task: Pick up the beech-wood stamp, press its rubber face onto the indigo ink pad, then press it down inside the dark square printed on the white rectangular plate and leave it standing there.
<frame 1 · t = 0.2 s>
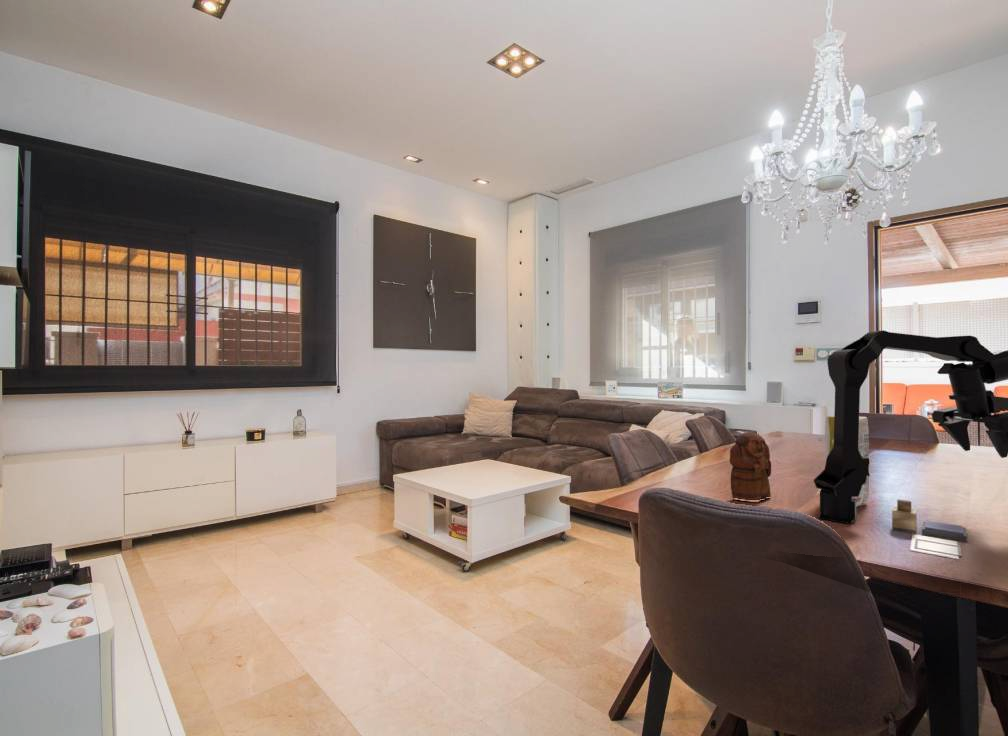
hand: (985, 453, 116), 15 cm above the table, tool pointing down, fingers open, 9 cm apart
white rectangular plate: (934, 546, 99), on the table
juice carton: (846, 504, 130), on the table
wooden figurine: (752, 499, 135), on the table
ink pad: (943, 533, 107), on the table
stamp: (904, 530, 109), on the table
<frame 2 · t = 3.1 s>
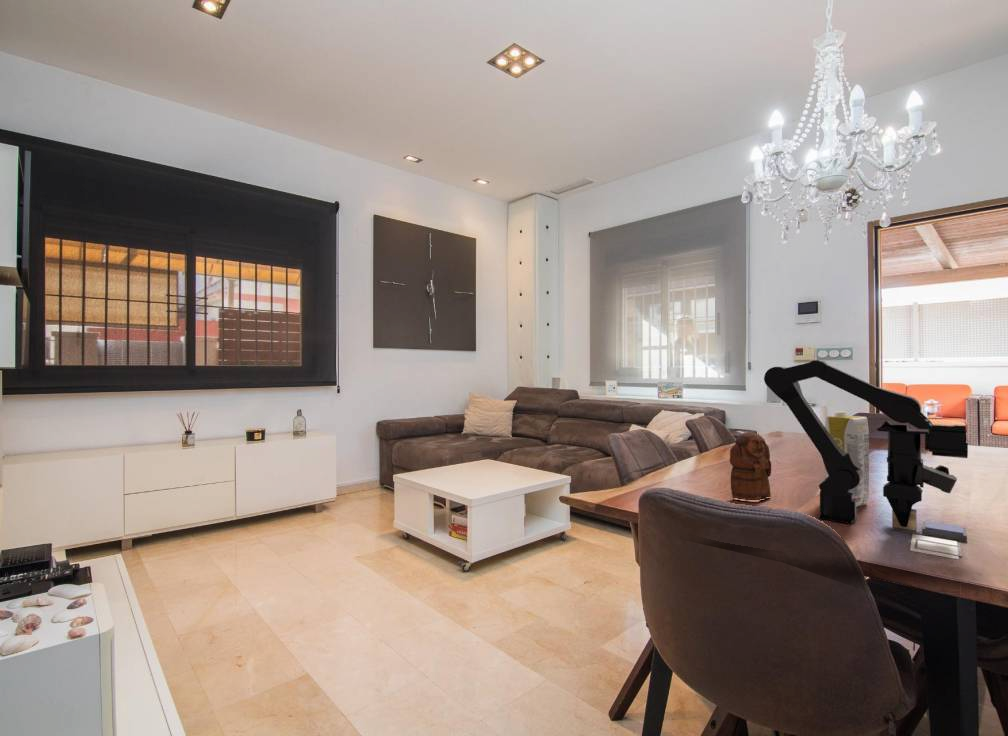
hand: (904, 524, 109), 1 cm above the table, tool pointing down, fingers closed on stamp, 4 cm apart
stamp: (904, 529, 109), on the table, touching gripper
everything else where it was.
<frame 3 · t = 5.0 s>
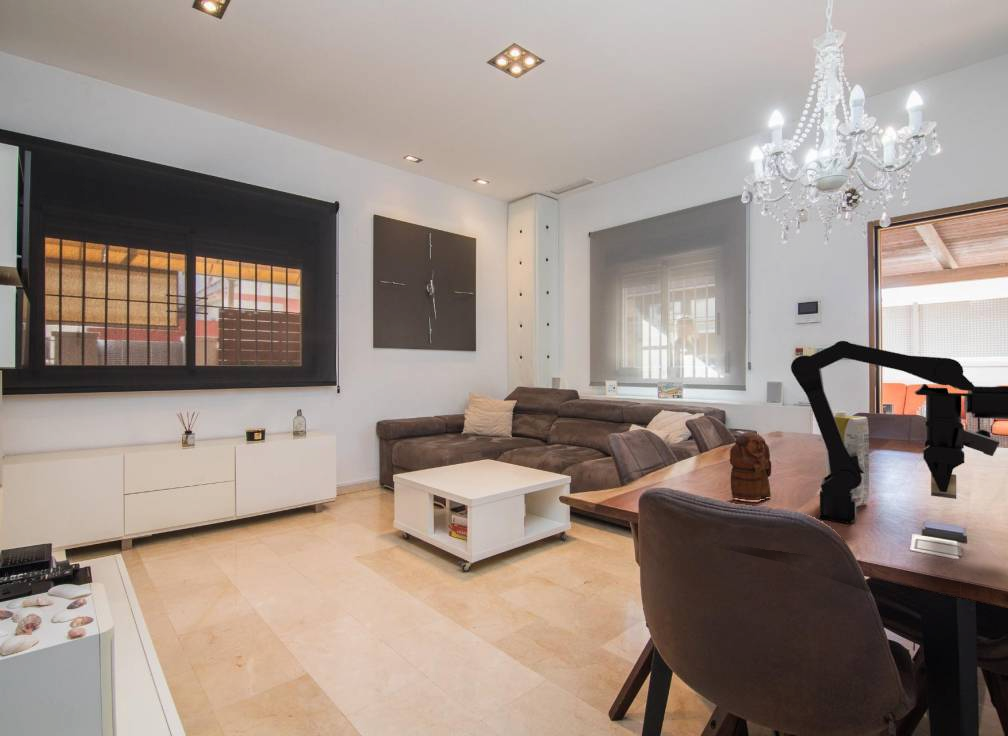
hand: (943, 489, 107), 9 cm above the table, tool pointing down, fingers closed on stamp, 4 cm apart
stamp: (943, 495, 107), point 8 cm above the table, touching gripper
everything else where it was.
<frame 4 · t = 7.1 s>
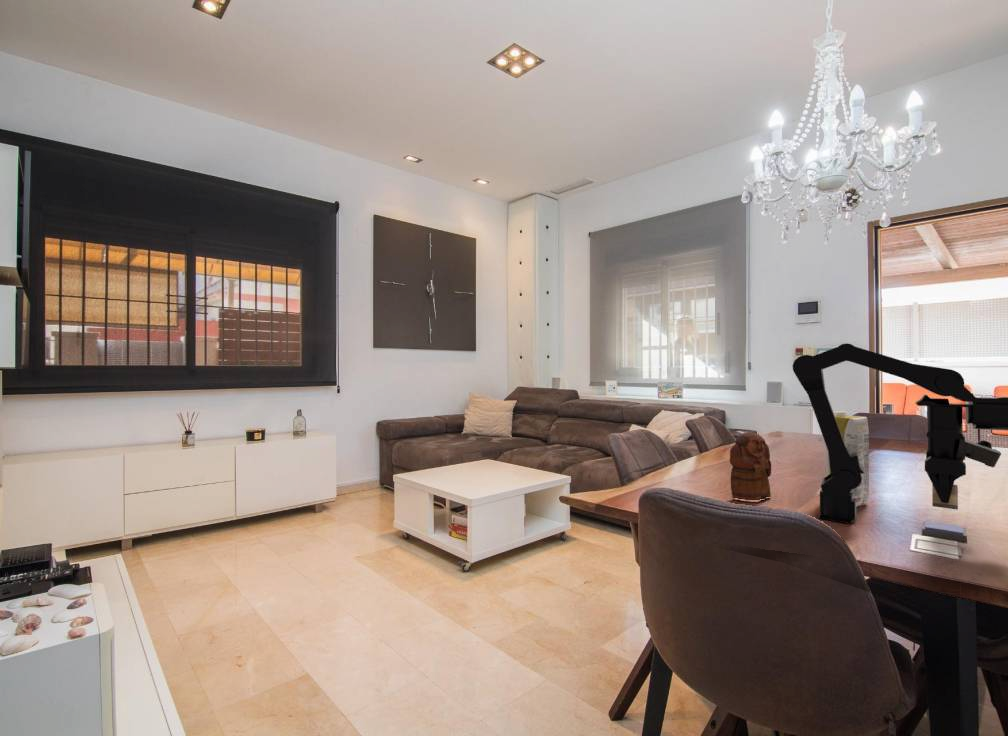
hand: (944, 500, 107), 7 cm above the table, tool pointing down, fingers closed on stamp, 4 cm apart
stamp: (944, 505, 107), point 6 cm above the table, touching gripper
everything else where it was.
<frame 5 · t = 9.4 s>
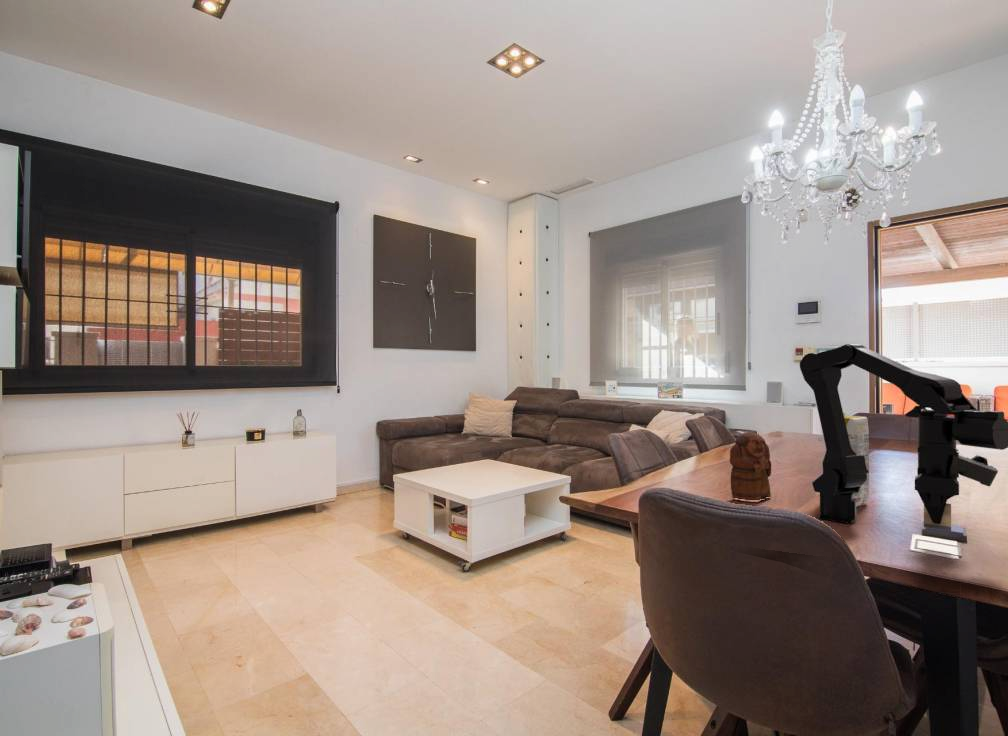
hand: (936, 521, 98), 5 cm above the table, tool pointing down, fingers closed on stamp, 4 cm apart
stamp: (937, 526, 98), point 4 cm above the table, touching gripper
everything else where it was.
when the fingers open (2 cm above the table, at t = 11.3 s): stamp stays where it is, resting on white rectangular plate.
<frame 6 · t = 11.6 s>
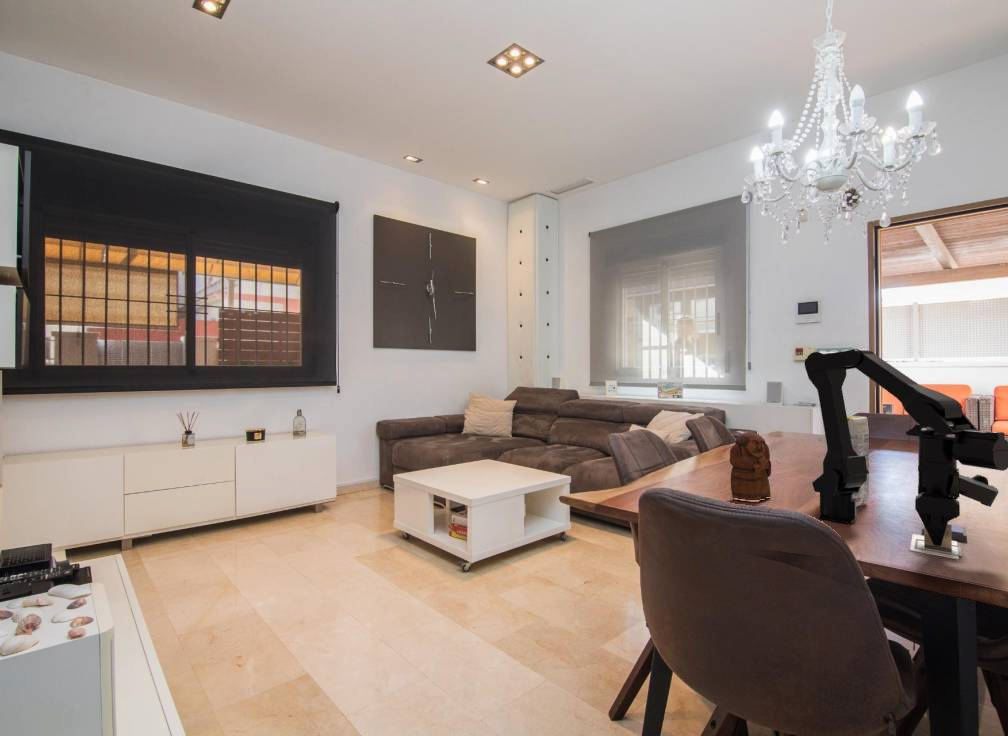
hand: (937, 540, 98), 2 cm above the table, tool pointing down, fingers open, 7 cm apart
stamp: (937, 547, 98), resting on white rectangular plate
everything else where it was.
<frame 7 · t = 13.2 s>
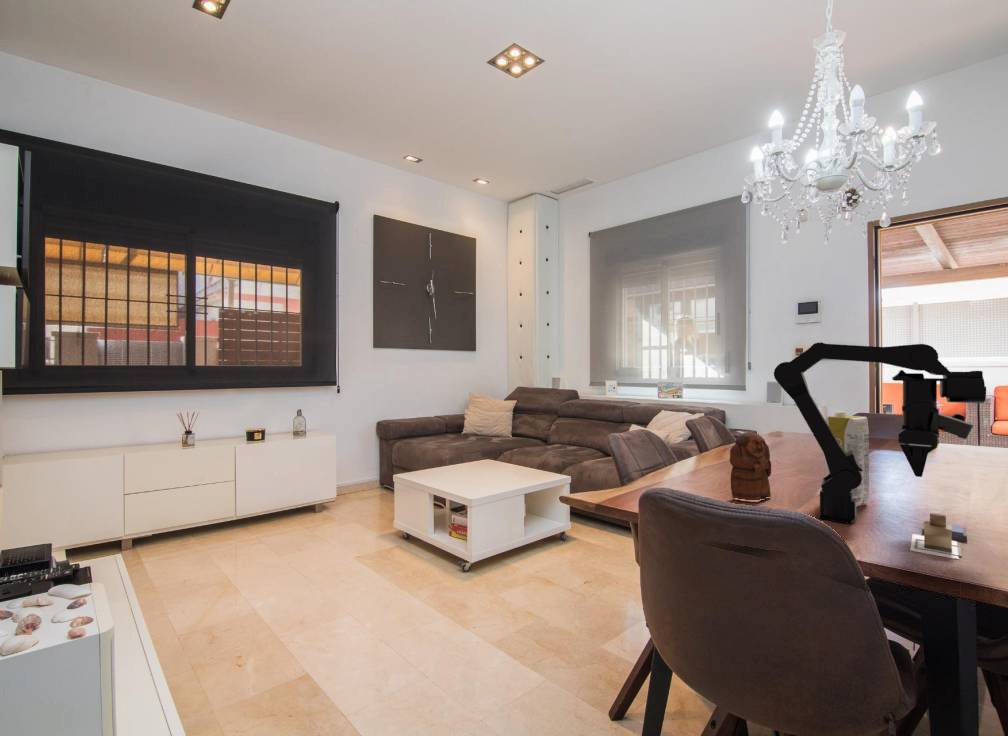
hand: (919, 473, 109), 12 cm above the table, tool pointing down, fingers open, 9 cm apart
nothing on the table moved.
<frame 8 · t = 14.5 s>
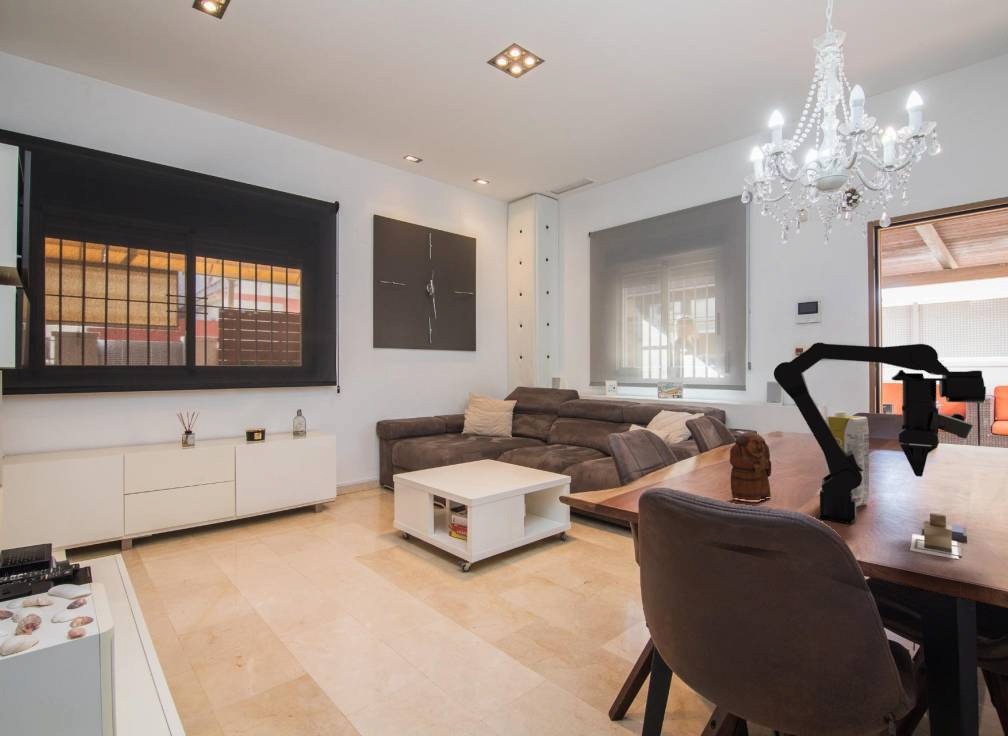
hand: (919, 472, 109), 13 cm above the table, tool pointing down, fingers open, 9 cm apart
nothing on the table moved.
at the end: stamp 0.1 cm from the target spot, resting on white rectangular plate; stamp tilted 0°; the gripper is holding nothing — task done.
